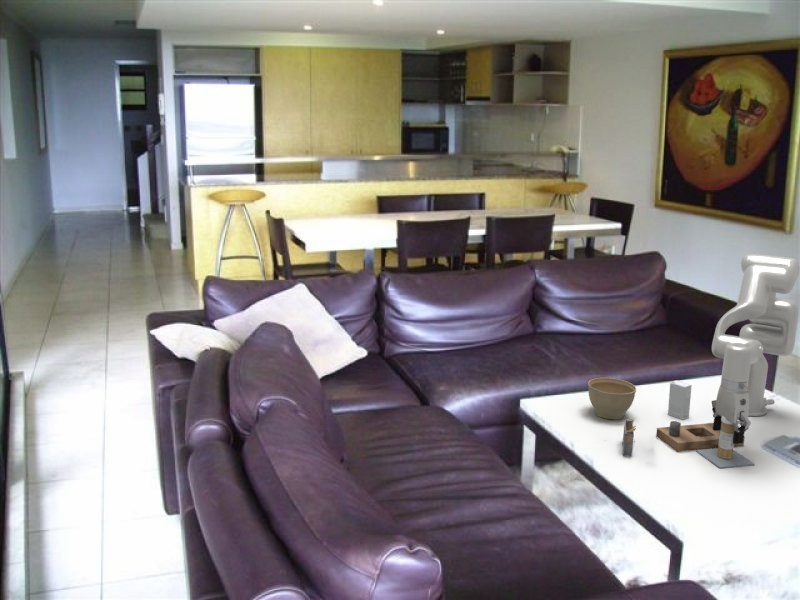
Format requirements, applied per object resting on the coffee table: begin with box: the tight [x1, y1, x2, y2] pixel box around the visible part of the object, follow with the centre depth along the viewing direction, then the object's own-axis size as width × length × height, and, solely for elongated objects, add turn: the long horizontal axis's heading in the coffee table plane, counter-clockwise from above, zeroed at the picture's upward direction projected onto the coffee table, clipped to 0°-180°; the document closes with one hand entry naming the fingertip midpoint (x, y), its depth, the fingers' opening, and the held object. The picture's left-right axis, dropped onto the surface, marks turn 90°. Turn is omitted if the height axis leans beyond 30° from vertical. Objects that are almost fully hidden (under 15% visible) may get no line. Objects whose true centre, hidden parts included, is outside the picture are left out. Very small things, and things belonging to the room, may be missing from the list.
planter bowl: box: [587, 377, 637, 420], centre depth 274 cm, size 16×16×11 cm
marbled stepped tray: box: [622, 419, 637, 457], centre depth 248 cm, size 11×3×10 cm, turn 165°
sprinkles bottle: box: [717, 416, 739, 459], centre depth 242 cm, size 5×5×13 cm
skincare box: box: [667, 380, 693, 420], centre depth 274 cm, size 6×4×12 cm
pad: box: [695, 448, 755, 470], centre depth 243 cm, size 12×12×1 cm
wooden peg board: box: [656, 420, 746, 453], centre depth 255 cm, size 24×12×8 cm, turn 104°
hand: (727, 436), depth 242 cm, fingers open, 9 cm apart
